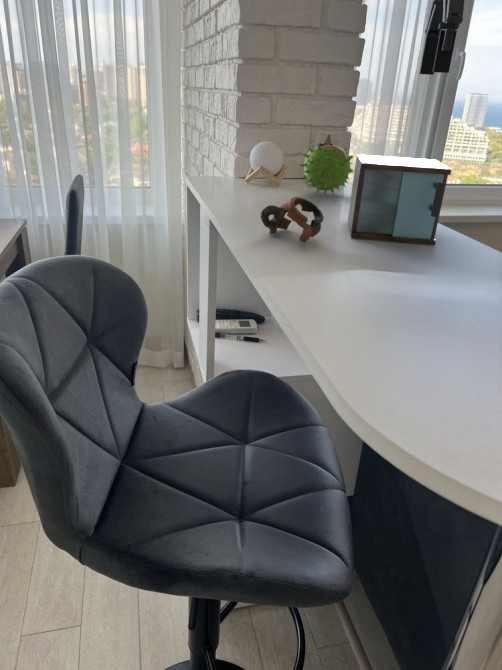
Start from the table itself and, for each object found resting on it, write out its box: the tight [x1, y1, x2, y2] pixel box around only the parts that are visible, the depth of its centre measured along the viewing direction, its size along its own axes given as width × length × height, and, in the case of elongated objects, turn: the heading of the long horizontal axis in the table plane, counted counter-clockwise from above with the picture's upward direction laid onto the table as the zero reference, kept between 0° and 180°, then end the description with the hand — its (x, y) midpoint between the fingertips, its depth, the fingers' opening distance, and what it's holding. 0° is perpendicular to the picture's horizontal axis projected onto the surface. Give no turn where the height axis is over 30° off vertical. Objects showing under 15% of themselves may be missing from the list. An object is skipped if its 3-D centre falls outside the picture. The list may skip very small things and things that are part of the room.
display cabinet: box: [347, 154, 452, 246], centre depth 100 cm, size 16×14×14 cm
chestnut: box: [299, 143, 355, 195], centre depth 135 cm, size 15×14×15 cm
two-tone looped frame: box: [260, 196, 324, 243], centre depth 95 cm, size 12×9×8 cm
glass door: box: [392, 172, 444, 239], centre depth 93 cm, size 7×4×12 cm, turn 83°
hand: (433, 73), depth 97 cm, fingers open, 13 cm apart
